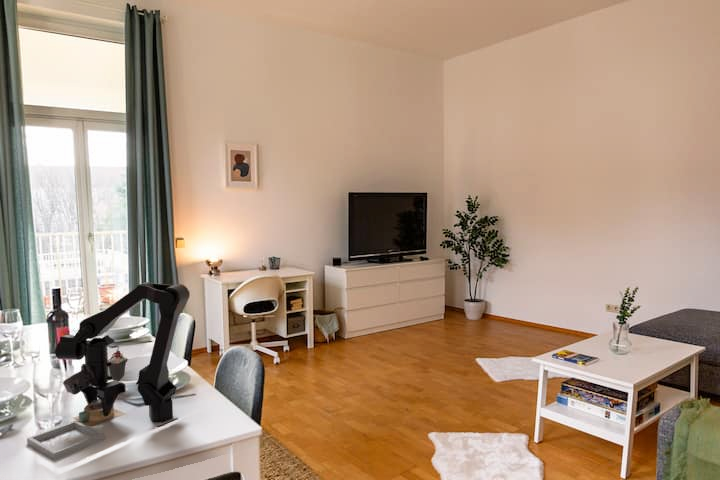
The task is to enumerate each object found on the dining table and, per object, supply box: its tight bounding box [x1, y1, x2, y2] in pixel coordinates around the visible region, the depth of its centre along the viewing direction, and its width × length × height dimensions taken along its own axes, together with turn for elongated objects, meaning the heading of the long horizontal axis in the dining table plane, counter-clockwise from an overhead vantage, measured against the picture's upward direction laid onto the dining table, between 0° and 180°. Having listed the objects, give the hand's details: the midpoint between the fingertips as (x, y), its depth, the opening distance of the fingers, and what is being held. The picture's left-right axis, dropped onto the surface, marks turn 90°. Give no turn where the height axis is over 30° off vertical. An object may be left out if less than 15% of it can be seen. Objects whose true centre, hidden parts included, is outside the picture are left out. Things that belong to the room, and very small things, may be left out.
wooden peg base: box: [72, 398, 127, 428], centre depth 143 cm, size 10×10×5 cm
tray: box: [26, 420, 105, 461], centre depth 127 cm, size 14×12×2 cm
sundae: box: [108, 347, 129, 382], centre depth 163 cm, size 7×7×15 cm
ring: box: [78, 403, 115, 422], centre depth 142 cm, size 7×9×3 cm
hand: (99, 413), depth 143 cm, fingers closed on ring, 7 cm apart
